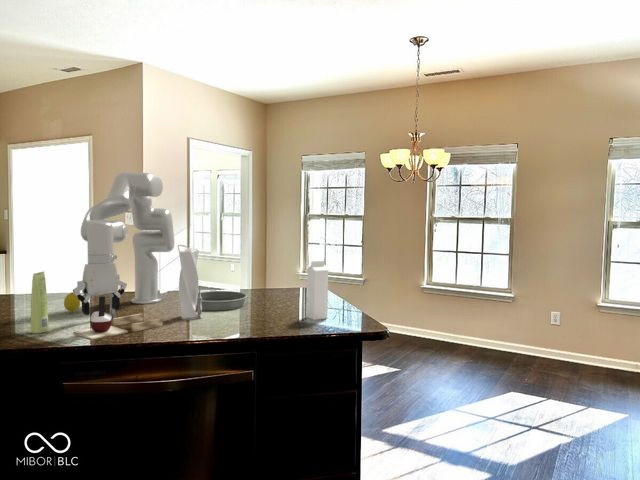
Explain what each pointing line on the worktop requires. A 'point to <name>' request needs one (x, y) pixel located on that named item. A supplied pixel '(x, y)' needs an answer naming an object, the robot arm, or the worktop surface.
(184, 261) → the skyscraper
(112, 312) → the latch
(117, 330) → the pad
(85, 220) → the robot arm
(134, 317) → the holder
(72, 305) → the lemon
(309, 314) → the milk
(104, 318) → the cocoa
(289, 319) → the worktop surface
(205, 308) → the cake pan
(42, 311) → the tube
